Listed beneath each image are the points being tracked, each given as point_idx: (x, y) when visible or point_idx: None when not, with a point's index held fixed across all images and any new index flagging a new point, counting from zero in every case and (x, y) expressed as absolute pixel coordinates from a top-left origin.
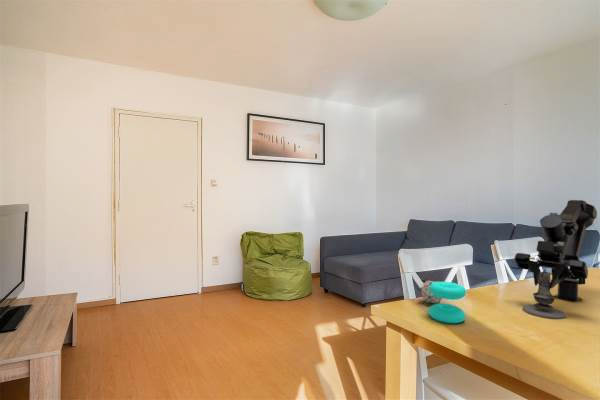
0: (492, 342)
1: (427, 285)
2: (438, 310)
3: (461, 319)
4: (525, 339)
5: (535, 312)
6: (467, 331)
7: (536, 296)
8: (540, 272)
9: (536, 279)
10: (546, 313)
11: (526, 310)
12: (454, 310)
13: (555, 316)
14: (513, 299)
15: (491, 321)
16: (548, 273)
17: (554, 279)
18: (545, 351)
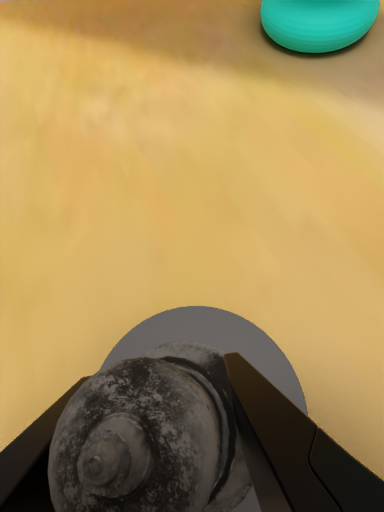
0: (145, 17)
1: None
2: None
3: (260, 13)
4: (107, 80)
5: (195, 321)
6: (215, 15)
7: (205, 344)
8: (193, 422)
9: (234, 379)
10: None
11: (239, 316)
12: None
13: (110, 352)
14: None
15: (235, 106)
16: (57, 458)
17: (13, 445)
18: (52, 65)
